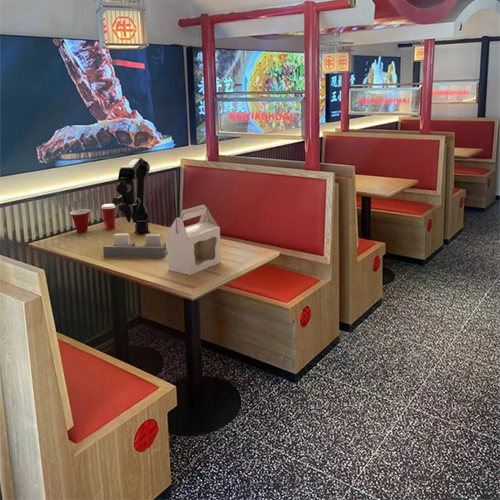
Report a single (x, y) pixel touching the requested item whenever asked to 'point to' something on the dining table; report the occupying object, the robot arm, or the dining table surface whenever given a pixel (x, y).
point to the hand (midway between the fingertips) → (131, 220)
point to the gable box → (193, 242)
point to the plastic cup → (80, 220)
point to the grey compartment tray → (135, 251)
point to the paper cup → (109, 216)
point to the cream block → (121, 239)
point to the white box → (153, 240)
